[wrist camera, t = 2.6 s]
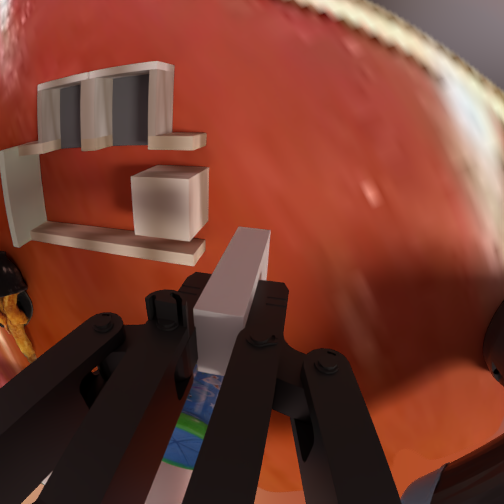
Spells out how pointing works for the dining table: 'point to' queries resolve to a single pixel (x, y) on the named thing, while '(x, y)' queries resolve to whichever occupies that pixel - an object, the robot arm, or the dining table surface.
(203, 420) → the snack cup
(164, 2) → the dining table surface
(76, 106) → the box
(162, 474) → the bottle
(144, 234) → the cream block
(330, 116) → the dining table surface
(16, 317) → the fried shrimp in bowl
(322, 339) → the dining table surface
